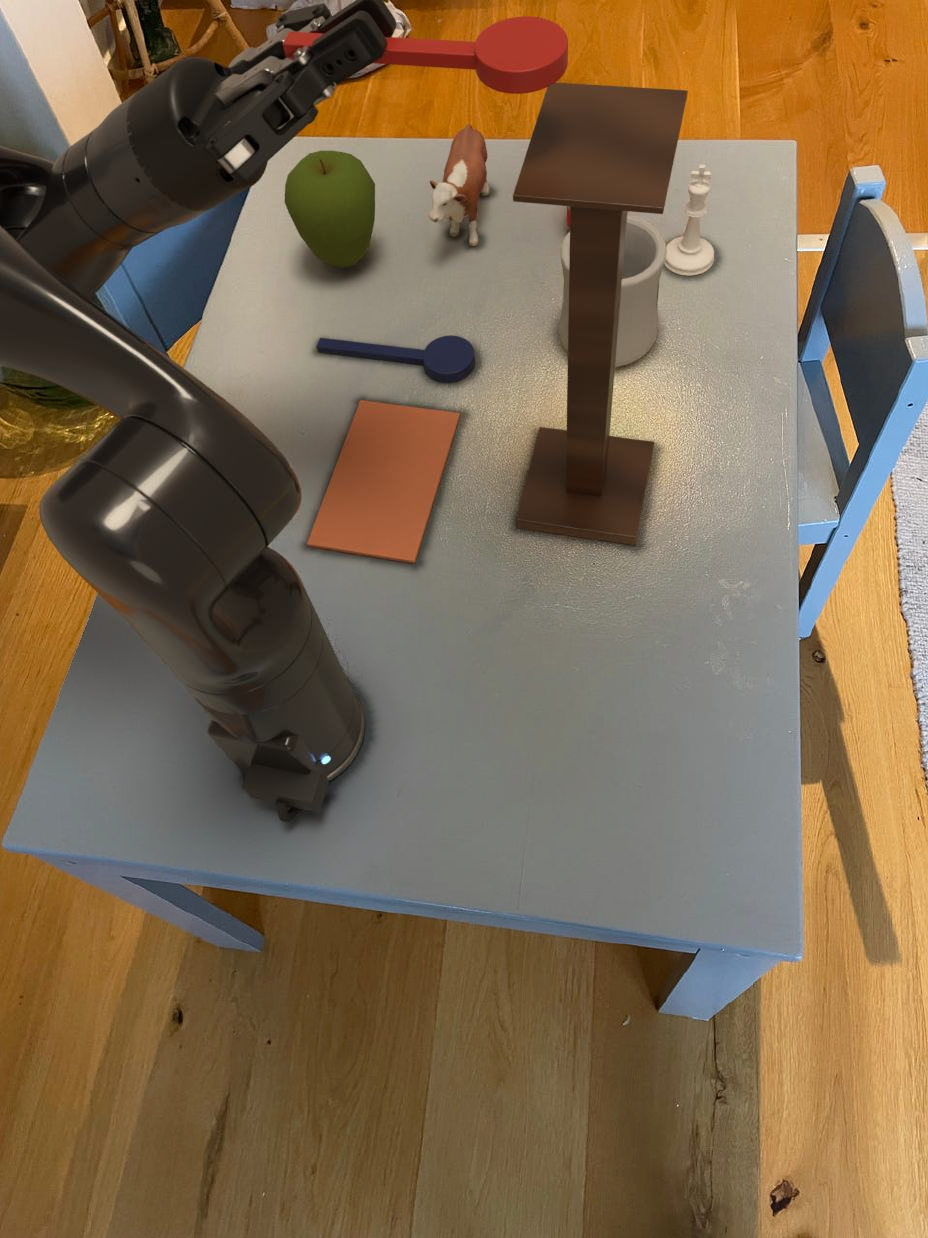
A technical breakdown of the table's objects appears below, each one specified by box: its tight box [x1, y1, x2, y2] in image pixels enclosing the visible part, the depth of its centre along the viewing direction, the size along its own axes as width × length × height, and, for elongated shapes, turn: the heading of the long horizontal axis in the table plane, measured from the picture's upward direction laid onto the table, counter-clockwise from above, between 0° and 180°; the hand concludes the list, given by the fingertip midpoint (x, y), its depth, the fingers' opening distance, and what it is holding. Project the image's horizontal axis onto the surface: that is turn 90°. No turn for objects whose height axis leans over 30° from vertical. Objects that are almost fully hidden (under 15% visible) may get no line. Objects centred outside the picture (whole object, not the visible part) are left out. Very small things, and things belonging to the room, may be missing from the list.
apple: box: [284, 150, 376, 269], centre depth 90 cm, size 9×8×12 cm
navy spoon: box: [316, 335, 476, 384], centre depth 88 cm, size 5×15×1 cm, turn 76°
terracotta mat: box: [306, 399, 461, 564], centre depth 81 cm, size 16×10×1 cm, turn 166°
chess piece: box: [664, 164, 715, 277], centre depth 87 cm, size 5×5×10 cm
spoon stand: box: [512, 82, 689, 546], centre depth 65 cm, size 10×10×32 cm
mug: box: [558, 214, 667, 368], centre depth 84 cm, size 12×9×10 cm
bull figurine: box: [428, 123, 490, 247], centre depth 93 cm, size 4×13×8 cm, turn 166°
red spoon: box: [283, 15, 569, 95], centre depth 49 cm, size 5×15×1 cm, turn 76°
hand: (380, 20), depth 48 cm, fingers closed on red spoon, 1 cm apart
